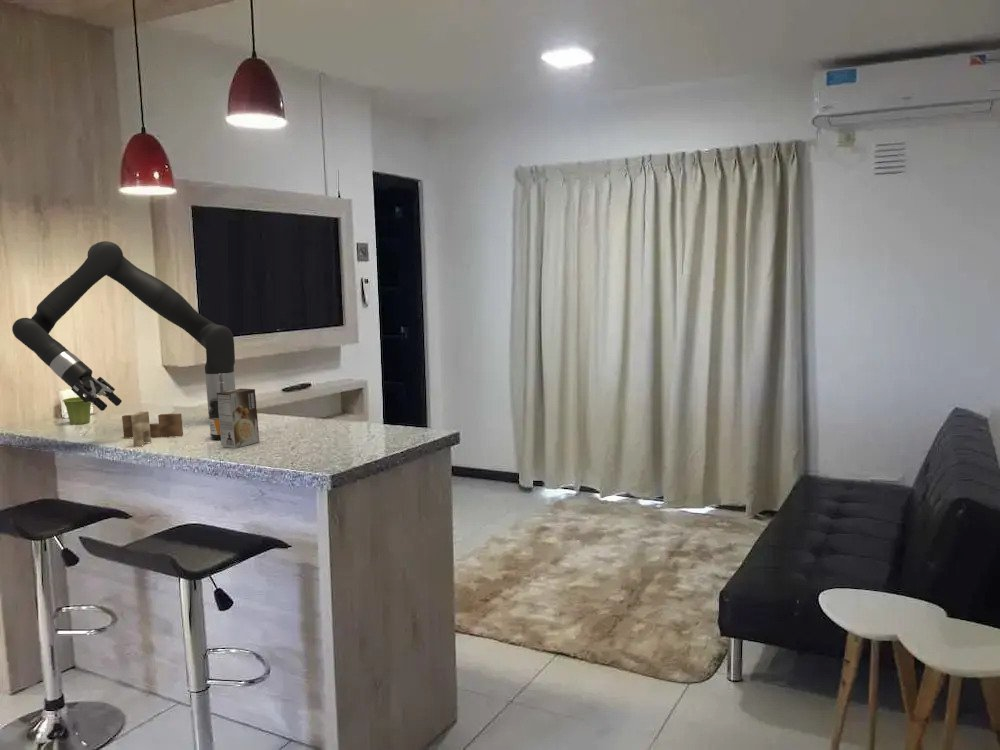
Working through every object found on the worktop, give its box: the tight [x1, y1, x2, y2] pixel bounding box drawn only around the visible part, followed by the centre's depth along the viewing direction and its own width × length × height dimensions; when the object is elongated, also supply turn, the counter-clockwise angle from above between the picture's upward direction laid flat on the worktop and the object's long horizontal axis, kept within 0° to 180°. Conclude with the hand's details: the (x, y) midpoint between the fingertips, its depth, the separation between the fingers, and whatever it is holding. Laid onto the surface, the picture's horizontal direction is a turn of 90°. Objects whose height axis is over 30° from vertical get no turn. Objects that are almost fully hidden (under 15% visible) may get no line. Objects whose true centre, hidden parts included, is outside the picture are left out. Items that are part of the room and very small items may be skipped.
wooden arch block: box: [130, 411, 152, 447], centre depth 244 cm, size 2×6×10 cm, turn 178°
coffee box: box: [217, 388, 260, 449], centre depth 238 cm, size 9×6×16 cm
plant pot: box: [62, 396, 92, 425], centre depth 286 cm, size 9×9×9 cm
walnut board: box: [121, 413, 184, 439], centre depth 256 cm, size 18×2×7 cm, turn 88°
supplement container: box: [208, 398, 221, 441], centre depth 251 cm, size 10×10×12 cm
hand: (112, 406), depth 244 cm, fingers open, 8 cm apart
